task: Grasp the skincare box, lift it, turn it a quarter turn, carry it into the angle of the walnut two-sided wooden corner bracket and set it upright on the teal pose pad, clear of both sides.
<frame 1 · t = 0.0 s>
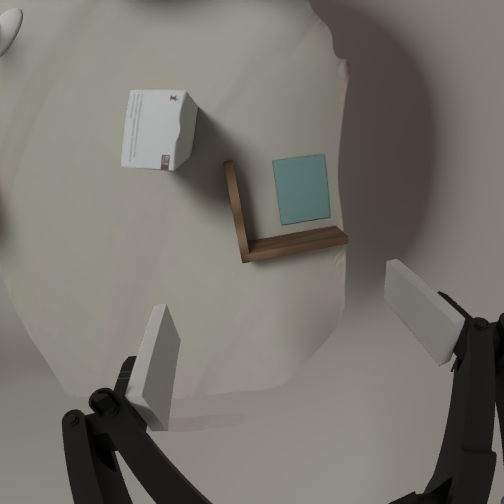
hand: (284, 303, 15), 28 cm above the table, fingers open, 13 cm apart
wooden corner bracket: (284, 198, 42), on the table
pose pad: (302, 189, 41), on the table
candlestick: (2, 34, 21), on the table
skincare box: (176, 131, 36), on the table
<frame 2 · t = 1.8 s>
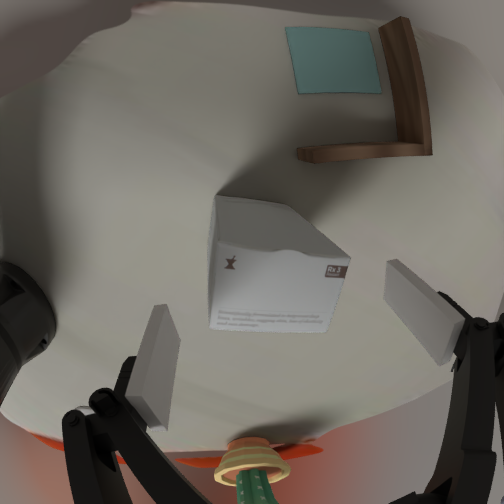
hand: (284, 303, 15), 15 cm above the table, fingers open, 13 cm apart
wooden corner bracket: (348, 84, 24), on the table
pose pad: (335, 59, 23), on the table
potted cactus: (248, 445, 48), on the table
skincare box: (250, 223, 30), on the table
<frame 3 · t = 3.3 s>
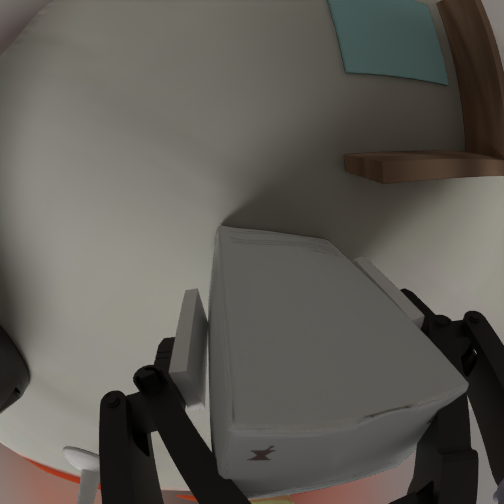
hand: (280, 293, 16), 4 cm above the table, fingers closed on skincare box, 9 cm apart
wooden corner bracket: (410, 67, 15), on the table
pose pad: (392, 32, 13), on the table
candlestick: (93, 462, 33), on the table
potted cactus: (256, 486, 38), on the table
skincare box: (271, 265, 20), on the table, touching gripper
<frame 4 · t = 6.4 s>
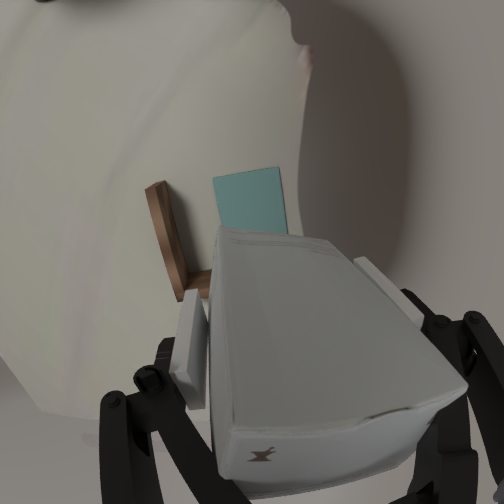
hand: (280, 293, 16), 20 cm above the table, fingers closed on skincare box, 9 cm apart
wooden corner bracket: (229, 223, 35), on the table
pose pad: (252, 211, 34), on the table
skincare box: (271, 266, 20), point 16 cm above the table, touching gripper
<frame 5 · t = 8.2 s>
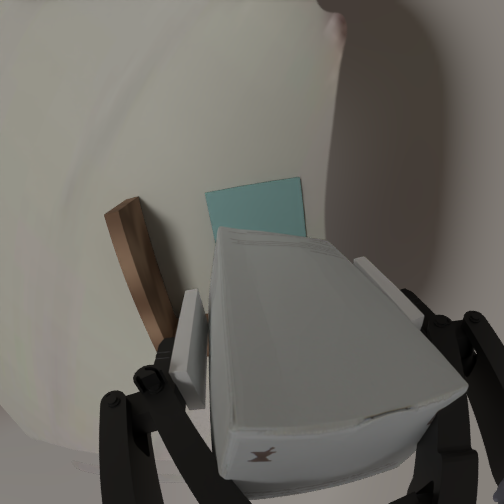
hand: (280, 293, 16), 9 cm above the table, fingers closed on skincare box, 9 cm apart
wooden corner bracket: (230, 255, 25), on the table
pose pad: (261, 239, 25), on the table
skincare box: (271, 266, 20), point 5 cm above the table, touching gripper
when the fingers open (5 cm above the table, at t = 9.6 s): skincare box drops 1 cm, resting on pose pad.
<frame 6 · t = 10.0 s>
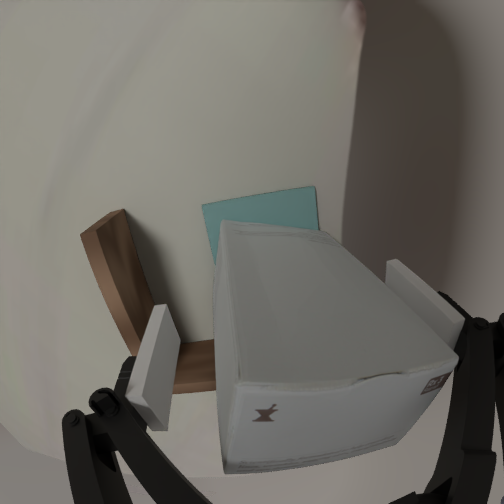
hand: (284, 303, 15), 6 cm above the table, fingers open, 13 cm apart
wooden corner bracket: (231, 277, 21), on the table
pose pad: (268, 258, 21), on the table
skincare box: (272, 257, 21), resting on pose pad
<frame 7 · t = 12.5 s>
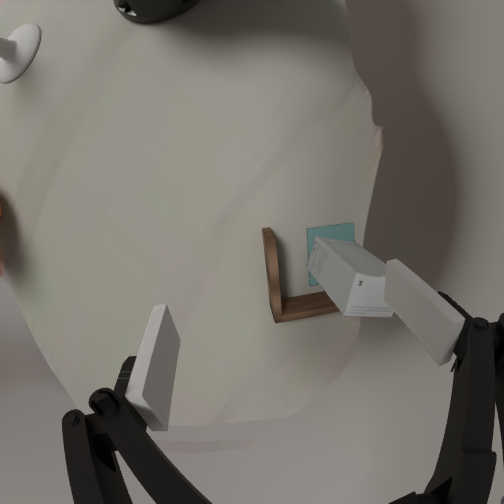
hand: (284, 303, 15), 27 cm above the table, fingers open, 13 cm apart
wooden corner bracket: (314, 262, 45), on the table
pose pad: (331, 254, 45), on the table
candlestick: (17, 52, 25), on the table
skincare box: (333, 253, 45), resting on pose pad
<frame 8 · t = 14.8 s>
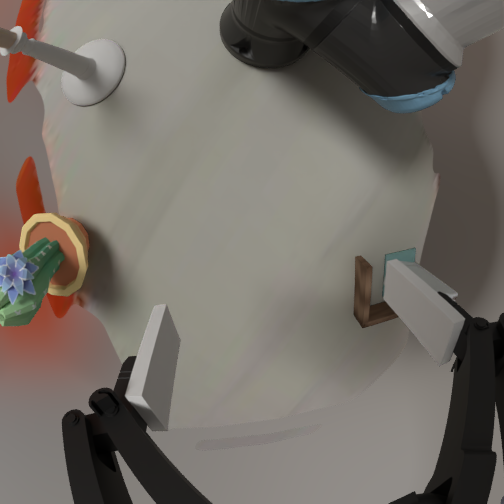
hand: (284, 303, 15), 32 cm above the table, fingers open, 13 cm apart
wooden corner bracket: (387, 279, 54), on the table
pose pad: (398, 272, 53), on the table
candlestick: (92, 71, 33), on the table
potted cactus: (70, 239, 44), on the table
skincare box: (400, 271, 53), resting on pose pad
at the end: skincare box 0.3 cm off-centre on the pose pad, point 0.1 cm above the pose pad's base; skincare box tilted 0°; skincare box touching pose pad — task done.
